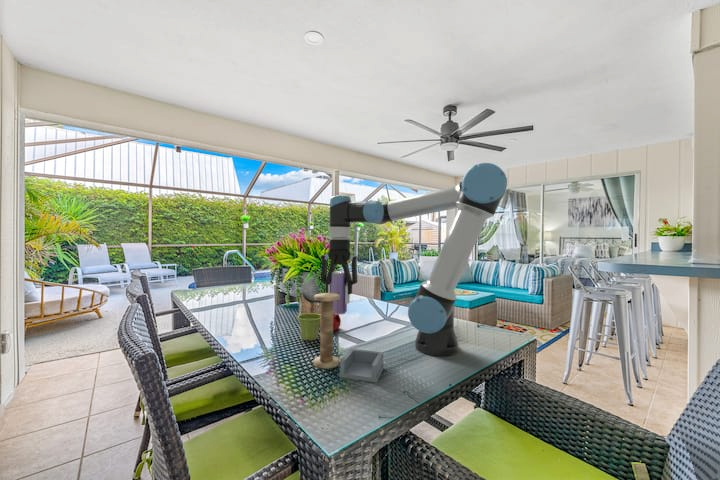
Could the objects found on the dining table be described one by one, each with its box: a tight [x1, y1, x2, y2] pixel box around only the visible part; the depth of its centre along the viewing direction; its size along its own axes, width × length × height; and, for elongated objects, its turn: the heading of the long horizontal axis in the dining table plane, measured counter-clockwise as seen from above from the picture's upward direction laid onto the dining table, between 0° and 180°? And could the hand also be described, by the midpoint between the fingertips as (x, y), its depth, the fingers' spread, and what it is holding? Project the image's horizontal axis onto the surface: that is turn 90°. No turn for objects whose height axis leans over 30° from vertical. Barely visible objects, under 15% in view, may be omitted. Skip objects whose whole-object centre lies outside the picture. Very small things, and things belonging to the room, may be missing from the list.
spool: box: [313, 292, 340, 370], centre depth 98 cm, size 8×8×22 cm
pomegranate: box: [319, 314, 342, 332], centre depth 133 cm, size 10×10×9 cm
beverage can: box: [330, 270, 348, 316], centre depth 113 cm, size 6×6×15 cm
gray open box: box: [338, 348, 385, 383], centre depth 92 cm, size 11×10×5 cm
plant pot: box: [297, 313, 321, 342], centre depth 121 cm, size 9×9×9 cm
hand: (338, 302), depth 113 cm, fingers closed on beverage can, 6 cm apart
